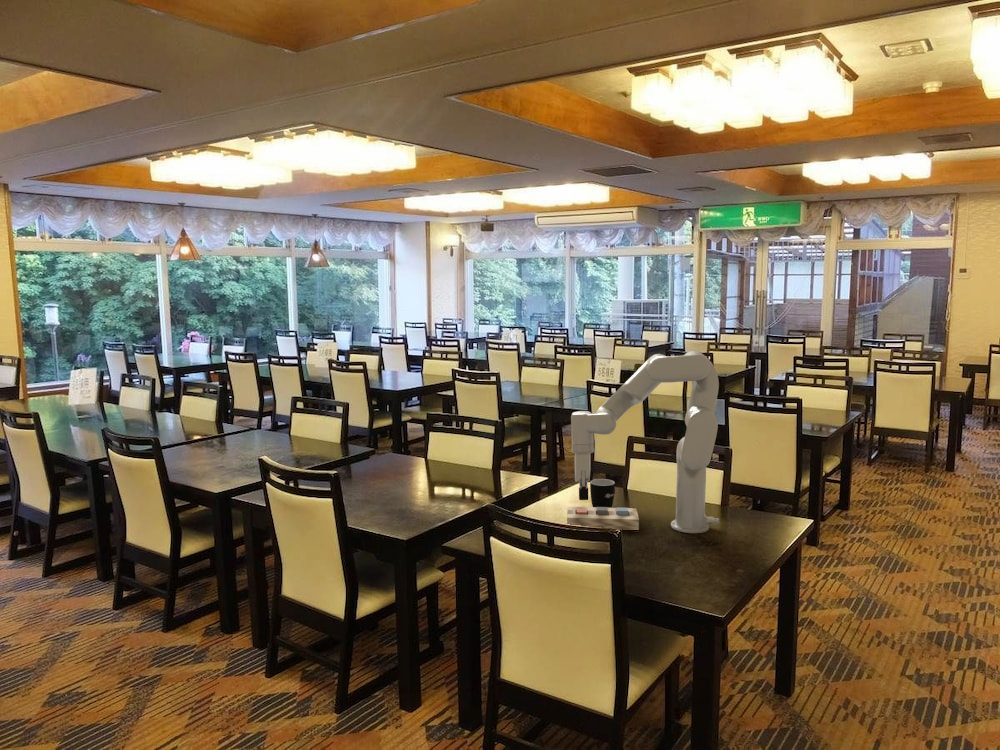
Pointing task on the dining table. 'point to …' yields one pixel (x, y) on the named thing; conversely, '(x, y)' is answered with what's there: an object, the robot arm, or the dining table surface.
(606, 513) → the button grey
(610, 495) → the mug
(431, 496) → the dining table surface
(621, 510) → the button blue
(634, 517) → the panel
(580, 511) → the button red
